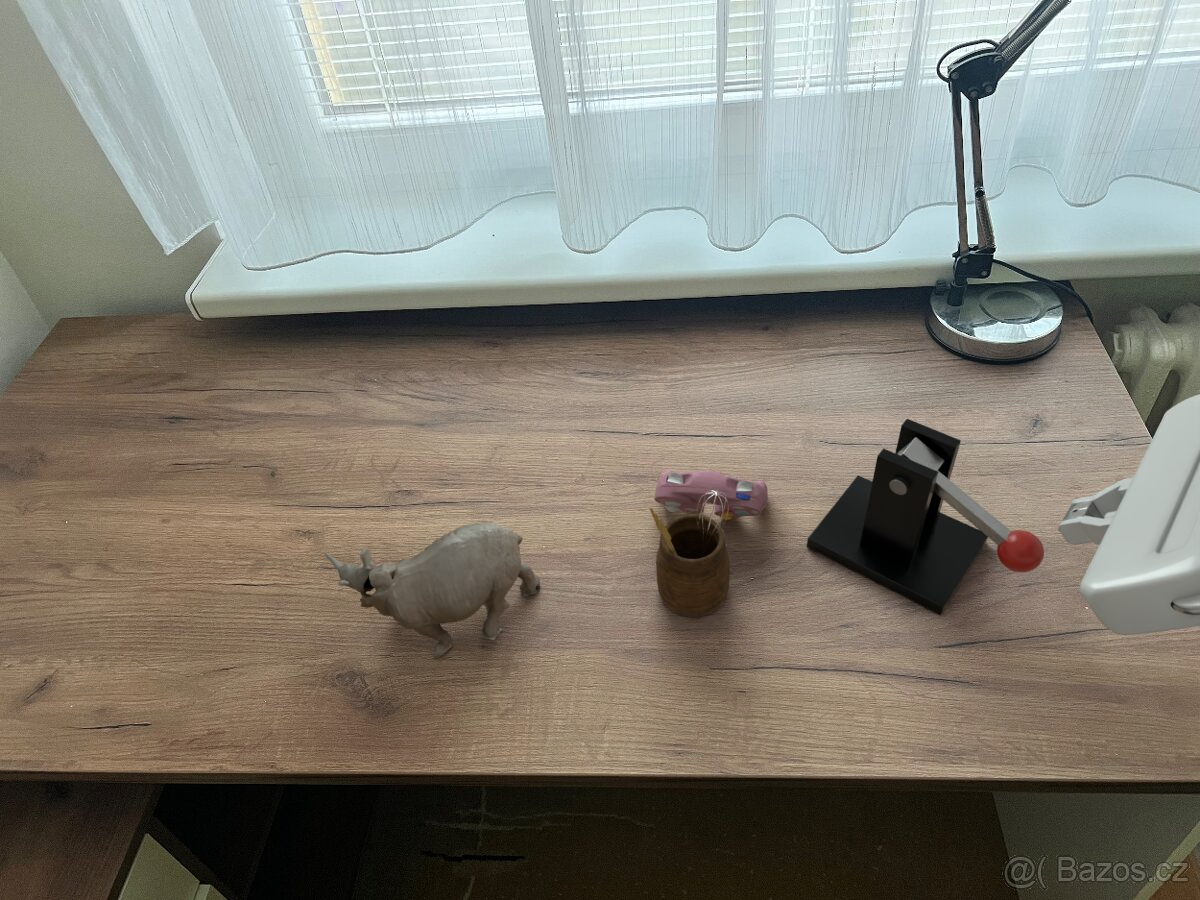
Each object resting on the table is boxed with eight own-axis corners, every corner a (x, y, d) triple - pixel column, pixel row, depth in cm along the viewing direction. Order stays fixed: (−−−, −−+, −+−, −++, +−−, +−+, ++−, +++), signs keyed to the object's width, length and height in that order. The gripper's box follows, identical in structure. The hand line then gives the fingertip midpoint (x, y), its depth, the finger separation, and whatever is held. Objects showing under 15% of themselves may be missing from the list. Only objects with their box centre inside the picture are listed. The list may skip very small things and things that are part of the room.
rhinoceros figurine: (575, 626, 68) (430, 532, 61) (455, 705, 73) (306, 627, 66) (568, 554, 75) (436, 460, 67) (457, 631, 79) (322, 552, 72)
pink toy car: (656, 520, 81) (646, 501, 74) (663, 473, 82) (655, 450, 76) (764, 534, 79) (764, 515, 72) (770, 486, 80) (770, 463, 73)
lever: (1031, 559, 68) (1059, 543, 65) (1015, 587, 66) (1044, 571, 64) (899, 450, 70) (921, 430, 67) (880, 473, 68) (902, 454, 66)
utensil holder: (743, 598, 72) (749, 502, 64) (679, 634, 70) (676, 539, 62) (702, 551, 76) (703, 454, 67) (641, 583, 74) (633, 488, 66)
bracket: (986, 543, 74) (1021, 444, 66) (940, 615, 69) (972, 519, 61) (856, 483, 80) (873, 386, 72) (806, 547, 75) (819, 450, 67)
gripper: (1293, 656, 44) (1041, 663, 55) (1359, 425, 55) (1136, 471, 66) (1230, 560, 43) (986, 588, 55) (1310, 344, 54) (1092, 406, 65)
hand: (1069, 522), depth 60 cm, fingers closed
